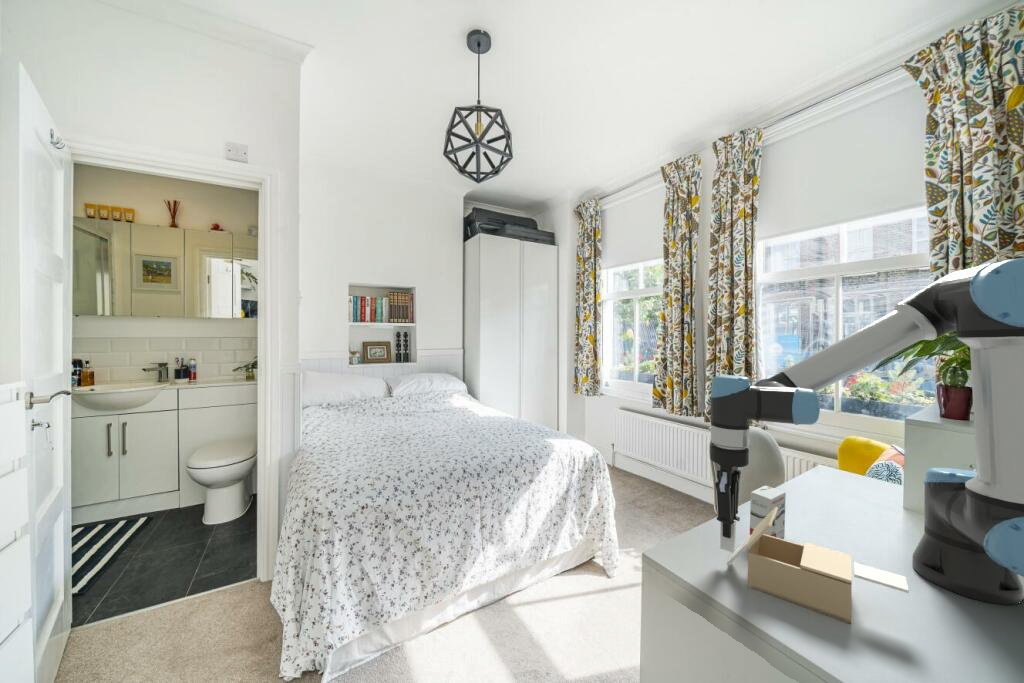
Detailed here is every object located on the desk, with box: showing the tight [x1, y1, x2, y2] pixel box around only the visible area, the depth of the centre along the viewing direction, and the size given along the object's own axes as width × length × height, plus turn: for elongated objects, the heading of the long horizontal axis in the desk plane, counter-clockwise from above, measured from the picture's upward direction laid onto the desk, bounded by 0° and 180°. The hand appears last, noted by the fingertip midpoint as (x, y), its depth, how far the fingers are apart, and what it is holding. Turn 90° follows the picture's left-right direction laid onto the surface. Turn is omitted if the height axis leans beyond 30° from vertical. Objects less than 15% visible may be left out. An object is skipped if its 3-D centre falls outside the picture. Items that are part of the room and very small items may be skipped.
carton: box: [747, 534, 853, 625], centre depth 79 cm, size 16×11×7 cm
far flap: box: [726, 507, 778, 567], centre depth 84 cm, size 15×11×1 cm
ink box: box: [749, 485, 787, 539], centre depth 99 cm, size 8×5×12 cm, turn 123°
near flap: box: [800, 542, 910, 594], centre depth 74 cm, size 15×11×1 cm
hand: (727, 549), depth 87 cm, fingers closed
